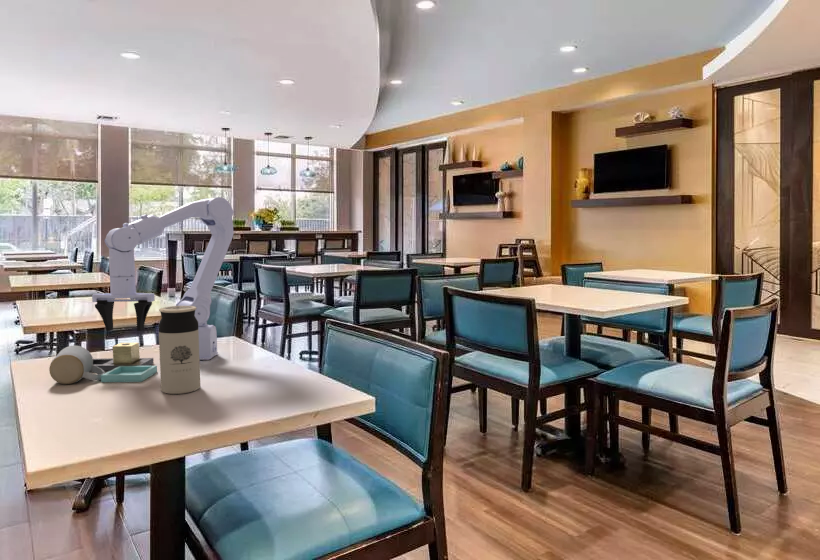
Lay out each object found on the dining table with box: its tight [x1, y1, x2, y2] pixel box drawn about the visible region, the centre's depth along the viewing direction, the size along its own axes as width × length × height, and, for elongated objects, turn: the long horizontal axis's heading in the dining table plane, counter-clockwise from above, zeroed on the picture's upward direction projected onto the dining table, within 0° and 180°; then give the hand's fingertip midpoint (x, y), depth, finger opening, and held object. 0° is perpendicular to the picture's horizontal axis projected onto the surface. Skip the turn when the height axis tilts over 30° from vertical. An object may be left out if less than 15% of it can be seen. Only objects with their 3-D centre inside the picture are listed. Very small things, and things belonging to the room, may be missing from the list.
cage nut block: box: [112, 342, 141, 364], centre depth 146 cm, size 4×4×6 cm
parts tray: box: [100, 365, 158, 383], centre depth 137 cm, size 9×9×2 cm
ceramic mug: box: [48, 345, 106, 385], centre depth 134 cm, size 11×8×8 cm
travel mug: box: [158, 305, 201, 395], centre depth 125 cm, size 8×8×18 cm
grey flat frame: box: [89, 357, 154, 373], centre depth 146 cm, size 18×8×2 cm, turn 92°
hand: (125, 330), depth 146 cm, fingers open, 7 cm apart
